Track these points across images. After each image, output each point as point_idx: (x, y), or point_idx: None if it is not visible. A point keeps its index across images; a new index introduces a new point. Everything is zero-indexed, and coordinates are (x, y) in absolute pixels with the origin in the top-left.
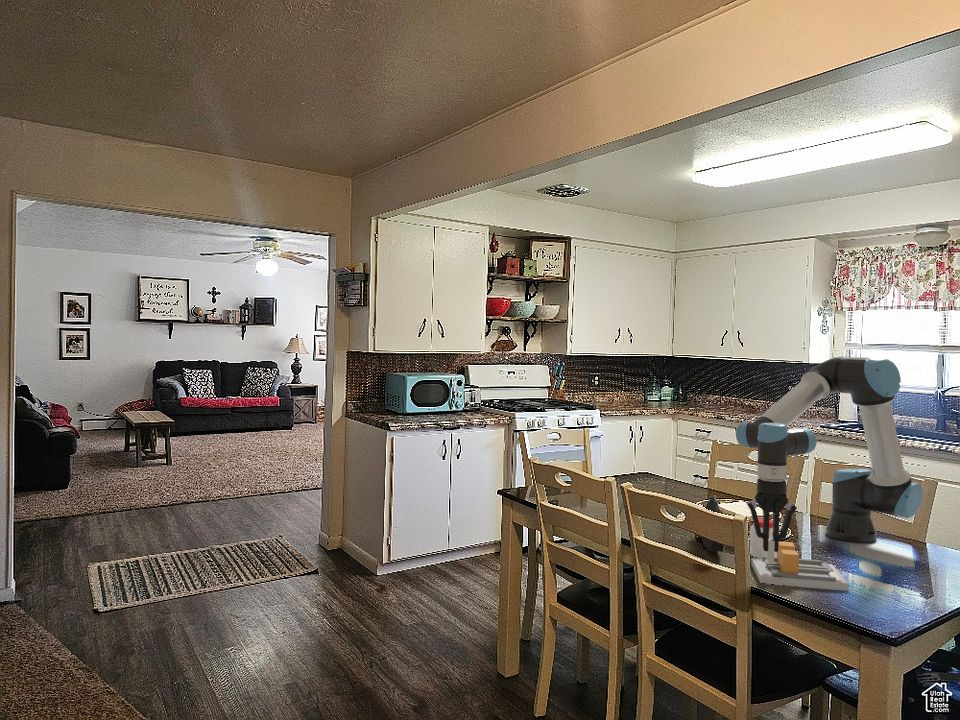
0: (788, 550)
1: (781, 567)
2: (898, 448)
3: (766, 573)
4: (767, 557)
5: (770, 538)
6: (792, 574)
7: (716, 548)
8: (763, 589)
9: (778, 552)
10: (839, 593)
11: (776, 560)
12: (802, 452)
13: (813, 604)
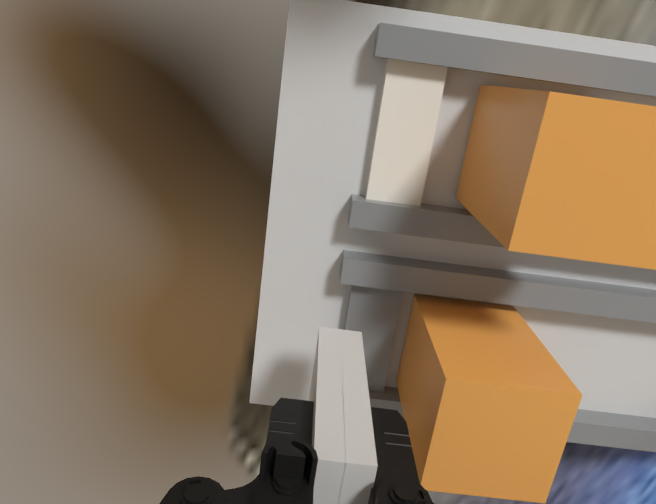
0: (513, 399)
1: (410, 359)
2: None
3: (302, 348)
4: (313, 379)
5: (351, 468)
6: None
7: None
8: (247, 451)
9: (498, 143)
10: (636, 462)
11: (481, 73)
12: None
13: None
